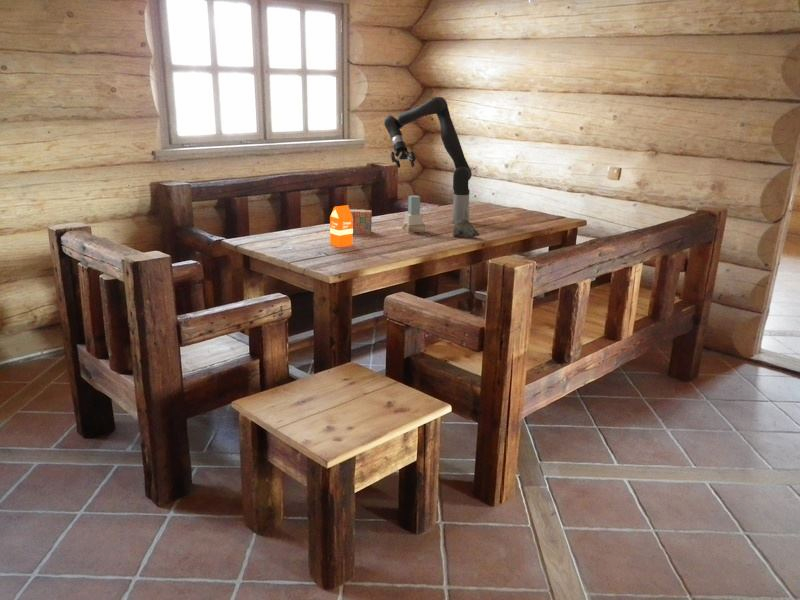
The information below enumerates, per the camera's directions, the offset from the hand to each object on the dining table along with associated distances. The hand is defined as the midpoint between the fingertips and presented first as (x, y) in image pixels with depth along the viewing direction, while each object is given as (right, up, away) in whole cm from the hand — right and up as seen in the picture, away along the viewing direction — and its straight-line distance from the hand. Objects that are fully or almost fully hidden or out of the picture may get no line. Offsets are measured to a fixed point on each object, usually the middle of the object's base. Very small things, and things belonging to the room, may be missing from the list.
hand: (406, 166), depth 397 cm
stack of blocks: (-30, -40, -19) cm, 54 cm away
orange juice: (-34, -49, -48) cm, 77 cm away
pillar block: (+4, -30, -16) cm, 34 cm away
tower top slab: (+4, -34, -14) cm, 37 cm away
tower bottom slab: (+4, -39, -12) cm, 41 cm away
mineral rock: (+32, -44, -26) cm, 60 cm away
